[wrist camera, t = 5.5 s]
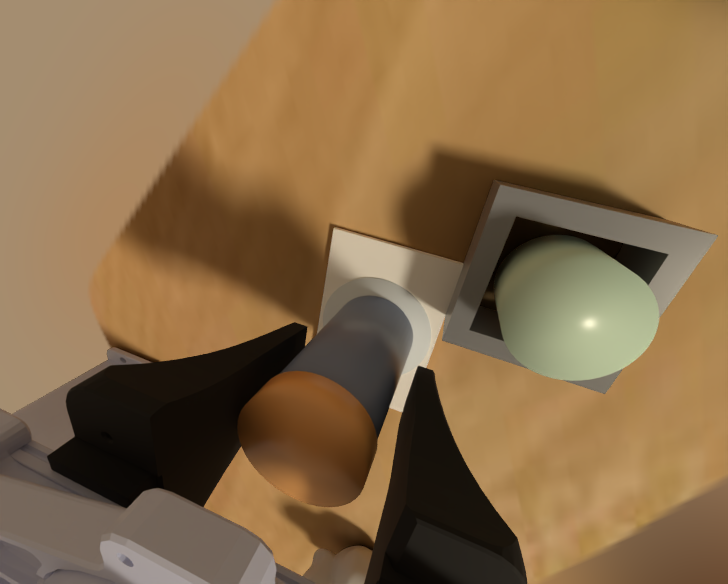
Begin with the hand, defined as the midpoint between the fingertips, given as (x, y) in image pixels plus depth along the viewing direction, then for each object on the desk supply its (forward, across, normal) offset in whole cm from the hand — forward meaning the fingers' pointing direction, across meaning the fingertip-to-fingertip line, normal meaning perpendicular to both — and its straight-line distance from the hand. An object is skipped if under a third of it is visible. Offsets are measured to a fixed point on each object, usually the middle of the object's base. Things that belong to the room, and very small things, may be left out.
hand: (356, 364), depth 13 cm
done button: (+2, -6, -5) cm, 8 cm away
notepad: (+3, 0, 0) cm, 3 cm away
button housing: (+3, -6, -5) cm, 8 cm away
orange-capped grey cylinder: (+3, 0, 0) cm, 3 cm away
